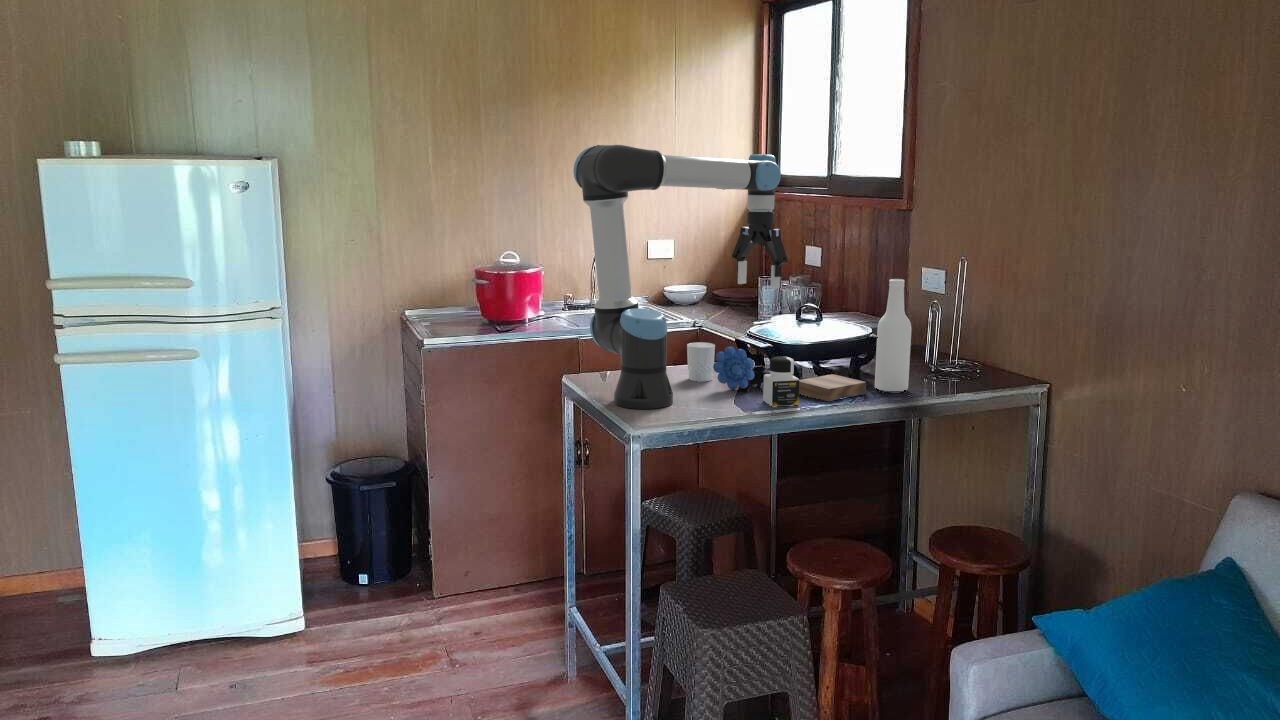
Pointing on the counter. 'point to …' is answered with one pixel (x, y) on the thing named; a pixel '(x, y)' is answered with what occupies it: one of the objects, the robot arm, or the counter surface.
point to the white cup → (700, 361)
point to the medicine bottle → (781, 383)
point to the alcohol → (893, 342)
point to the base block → (831, 387)
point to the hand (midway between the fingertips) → (758, 286)
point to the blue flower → (734, 368)
